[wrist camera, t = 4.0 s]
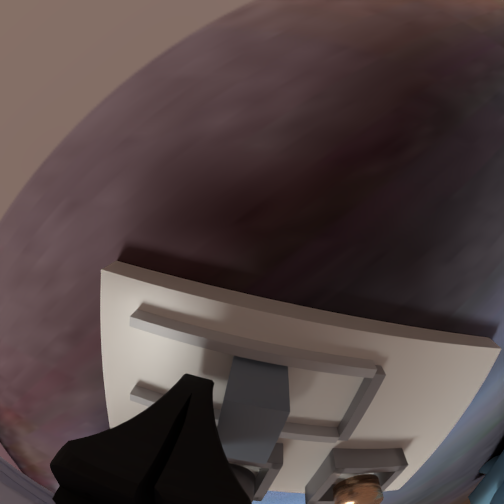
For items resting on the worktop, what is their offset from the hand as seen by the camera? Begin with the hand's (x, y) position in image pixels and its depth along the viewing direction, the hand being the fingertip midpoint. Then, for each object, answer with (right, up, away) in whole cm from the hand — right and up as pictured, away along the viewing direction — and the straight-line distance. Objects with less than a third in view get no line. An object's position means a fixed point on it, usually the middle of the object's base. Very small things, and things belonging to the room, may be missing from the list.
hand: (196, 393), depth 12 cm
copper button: (+9, -8, +1) cm, 12 cm away
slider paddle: (+2, 0, +1) cm, 3 cm away
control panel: (+5, -3, +3) cm, 7 cm away
